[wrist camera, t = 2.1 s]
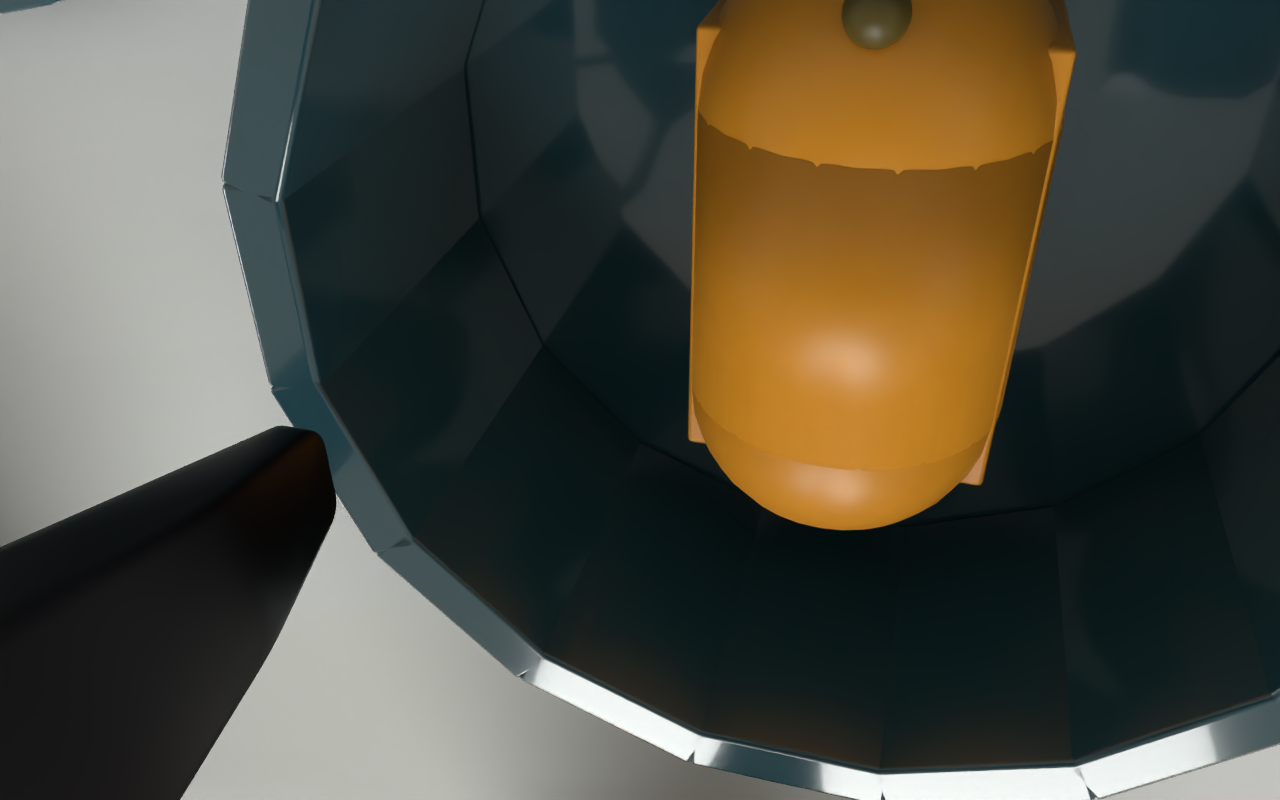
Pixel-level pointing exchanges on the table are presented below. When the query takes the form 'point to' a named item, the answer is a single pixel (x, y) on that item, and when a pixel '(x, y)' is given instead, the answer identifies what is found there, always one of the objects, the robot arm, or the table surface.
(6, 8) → the lid
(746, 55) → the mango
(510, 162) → the pot
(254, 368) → the table surface
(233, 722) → the table surface
